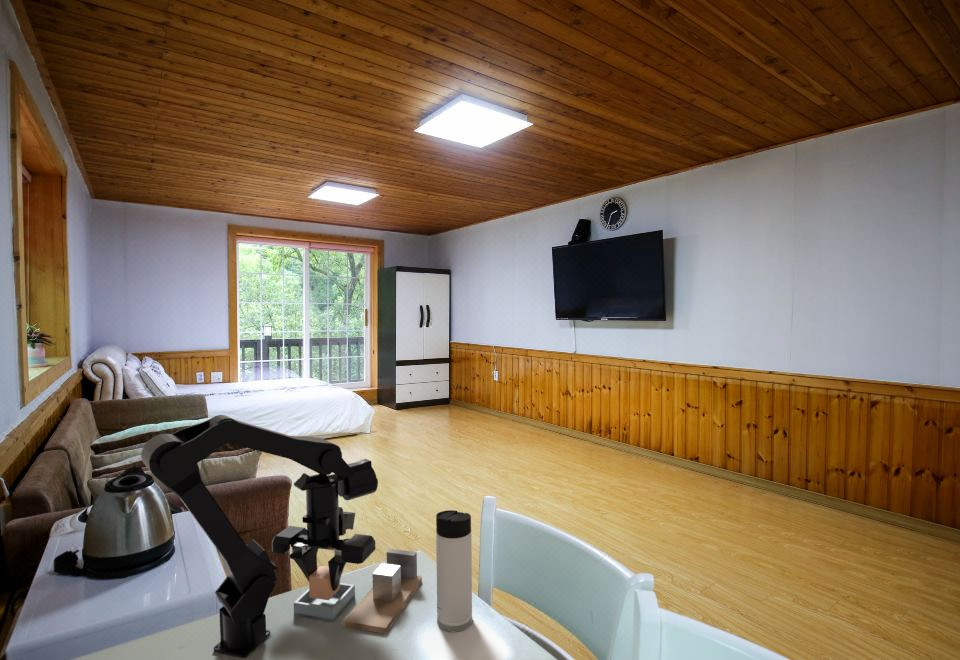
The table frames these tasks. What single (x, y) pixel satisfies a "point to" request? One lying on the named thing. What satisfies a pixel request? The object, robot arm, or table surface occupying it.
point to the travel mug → (454, 570)
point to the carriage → (386, 582)
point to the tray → (324, 604)
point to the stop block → (321, 584)
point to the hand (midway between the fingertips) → (324, 588)
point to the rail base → (384, 613)
